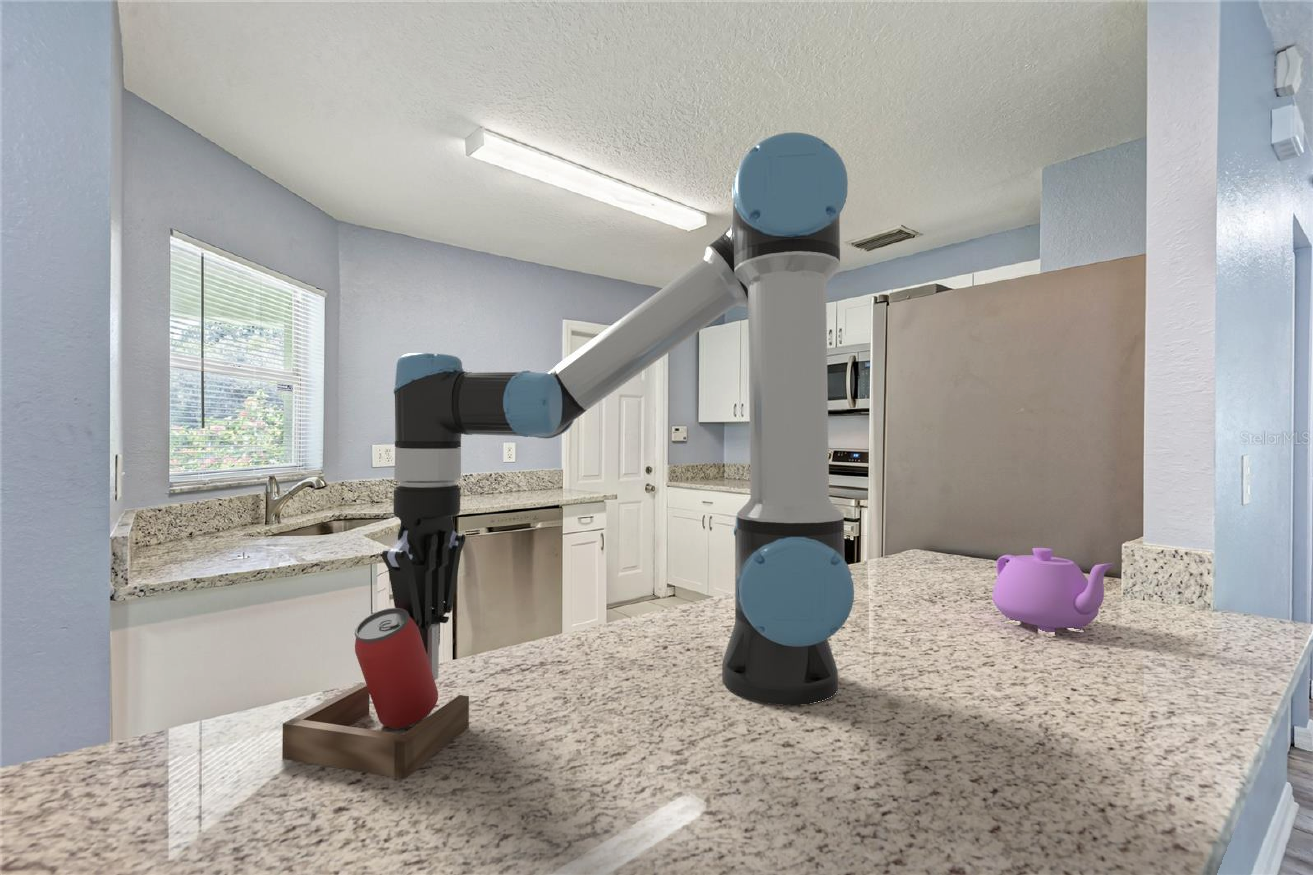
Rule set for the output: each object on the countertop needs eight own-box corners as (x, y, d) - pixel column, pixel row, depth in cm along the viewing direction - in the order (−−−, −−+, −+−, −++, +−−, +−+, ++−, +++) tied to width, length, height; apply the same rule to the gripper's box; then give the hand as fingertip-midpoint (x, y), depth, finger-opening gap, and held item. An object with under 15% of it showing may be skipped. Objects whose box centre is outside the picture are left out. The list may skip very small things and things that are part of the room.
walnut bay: (468, 727, 67) (468, 696, 67) (404, 779, 57) (405, 741, 57) (360, 712, 71) (361, 682, 71) (282, 758, 61) (282, 723, 61)
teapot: (1148, 643, 97) (1147, 558, 97) (1077, 654, 92) (1076, 563, 92) (1026, 608, 118) (1025, 538, 118) (963, 615, 113) (962, 542, 113)
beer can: (421, 733, 66) (392, 643, 61) (367, 731, 67) (335, 643, 63) (449, 688, 72) (425, 604, 68) (399, 687, 73) (372, 604, 69)
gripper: (434, 478, 79) (432, 656, 80) (362, 486, 67) (359, 697, 67) (484, 480, 77) (482, 663, 78) (419, 489, 65) (417, 706, 65)
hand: (425, 678), depth 72 cm, fingers closed
